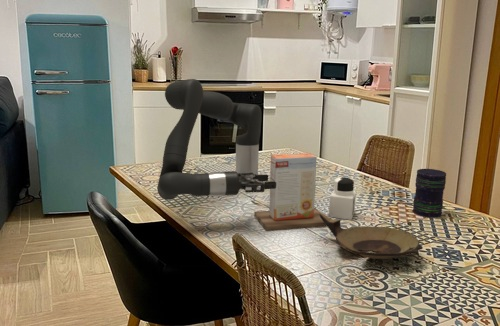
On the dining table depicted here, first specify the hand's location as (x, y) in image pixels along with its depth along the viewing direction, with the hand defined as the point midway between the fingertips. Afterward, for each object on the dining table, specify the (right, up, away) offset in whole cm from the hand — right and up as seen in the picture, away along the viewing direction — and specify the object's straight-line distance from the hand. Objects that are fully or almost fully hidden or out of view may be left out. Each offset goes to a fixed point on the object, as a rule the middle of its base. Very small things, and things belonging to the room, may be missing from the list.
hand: (271, 181), depth 161 cm
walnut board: (+7, -13, +5) cm, 16 cm away
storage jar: (+56, -12, +17) cm, 59 cm away
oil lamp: (+27, -20, -16) cm, 37 cm away
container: (+25, -12, +12) cm, 30 cm away
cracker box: (+7, -12, +5) cm, 15 cm away
